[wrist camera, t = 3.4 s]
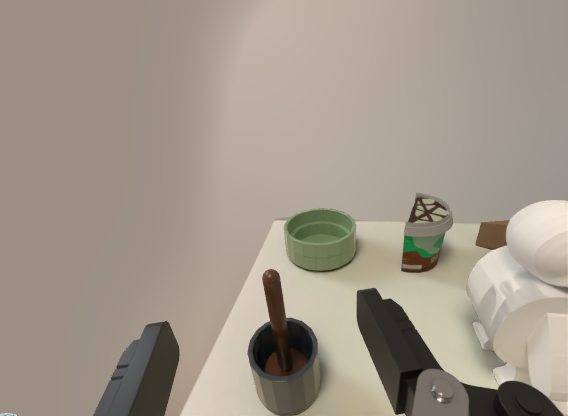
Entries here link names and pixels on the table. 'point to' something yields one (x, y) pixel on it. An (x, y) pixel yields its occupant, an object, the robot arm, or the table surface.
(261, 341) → the crock
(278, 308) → the brown peg stand
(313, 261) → the bowl
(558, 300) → the toy robot
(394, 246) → the table surface
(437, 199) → the food container
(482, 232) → the wooden block set
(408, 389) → the robot arm
